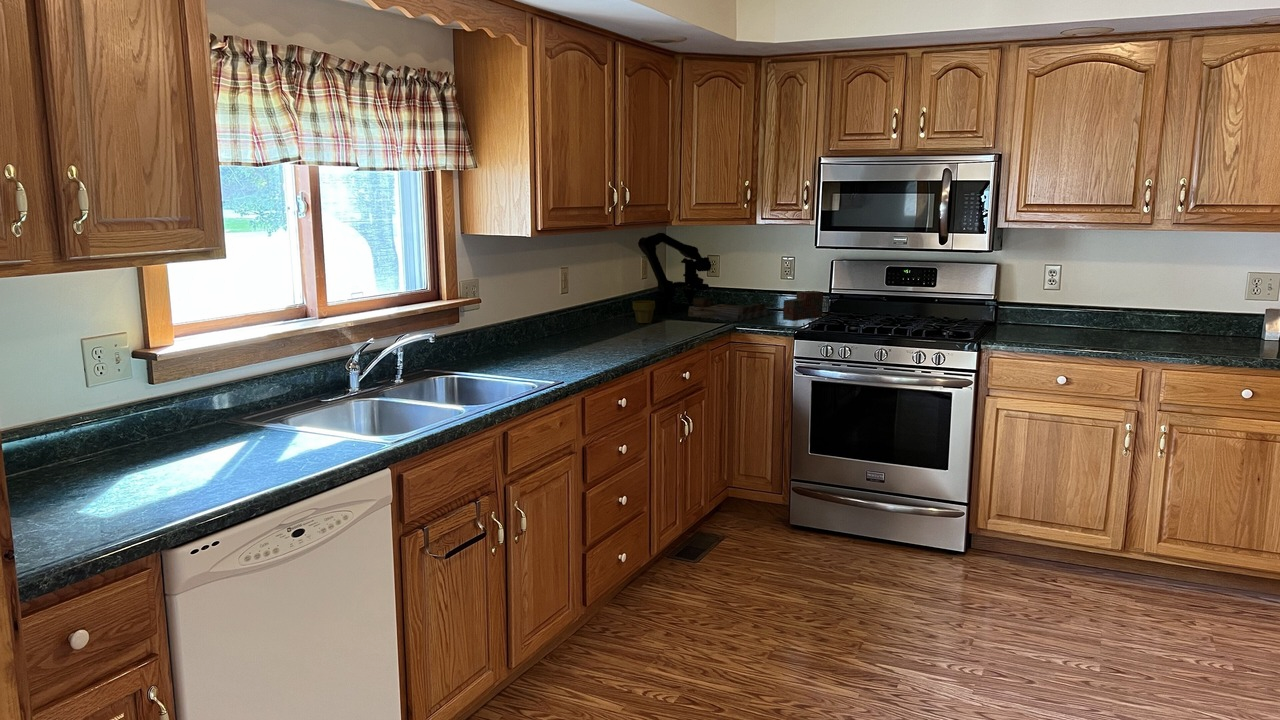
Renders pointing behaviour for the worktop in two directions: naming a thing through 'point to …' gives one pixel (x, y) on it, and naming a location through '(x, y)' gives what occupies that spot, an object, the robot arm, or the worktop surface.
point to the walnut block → (702, 302)
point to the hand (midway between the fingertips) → (690, 303)
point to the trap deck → (730, 312)
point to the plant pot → (644, 311)
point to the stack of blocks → (804, 306)
